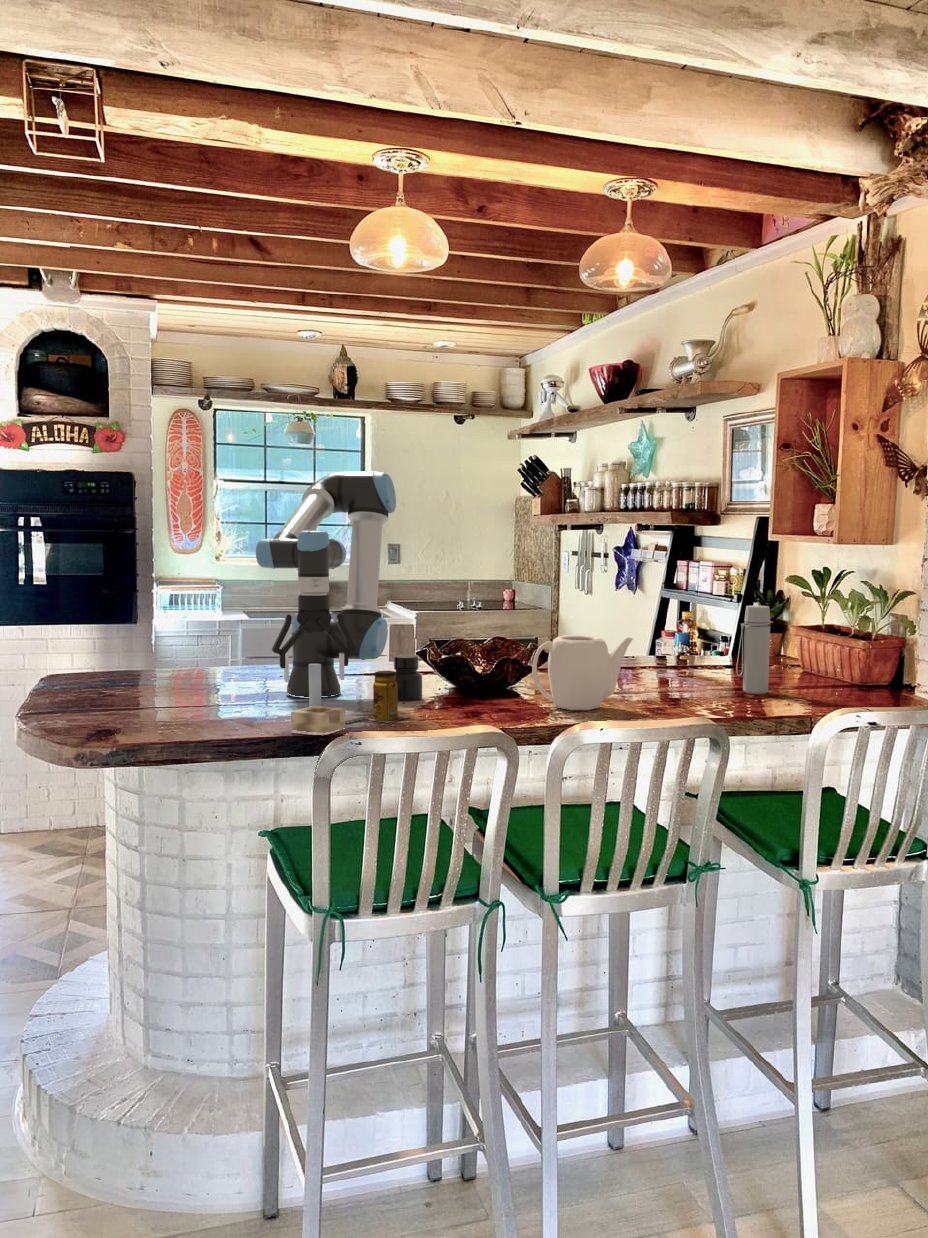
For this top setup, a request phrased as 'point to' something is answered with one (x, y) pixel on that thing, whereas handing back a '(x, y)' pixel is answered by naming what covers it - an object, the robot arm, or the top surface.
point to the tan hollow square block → (318, 719)
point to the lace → (355, 719)
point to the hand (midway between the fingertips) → (314, 680)
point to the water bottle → (755, 649)
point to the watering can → (580, 671)
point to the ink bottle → (408, 677)
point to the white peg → (315, 685)
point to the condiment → (385, 697)
